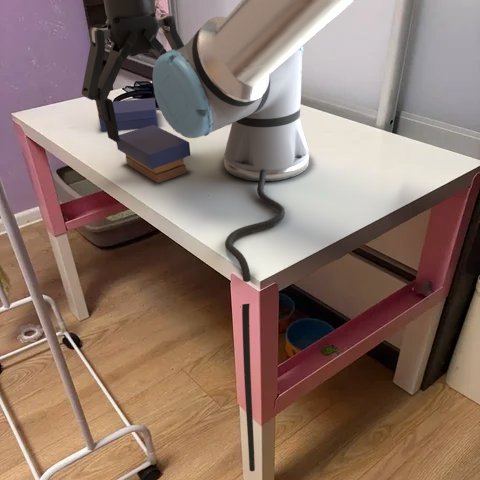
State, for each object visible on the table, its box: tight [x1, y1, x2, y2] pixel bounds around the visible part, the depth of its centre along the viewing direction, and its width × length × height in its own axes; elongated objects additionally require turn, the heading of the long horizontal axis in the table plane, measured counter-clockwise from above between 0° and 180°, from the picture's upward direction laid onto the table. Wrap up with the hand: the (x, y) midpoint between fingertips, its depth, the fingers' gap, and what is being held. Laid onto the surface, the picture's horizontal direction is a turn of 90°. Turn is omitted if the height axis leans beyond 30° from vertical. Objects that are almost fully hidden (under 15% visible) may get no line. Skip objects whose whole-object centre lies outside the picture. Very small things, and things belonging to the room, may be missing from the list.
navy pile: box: [97, 97, 159, 133], centre depth 111 cm, size 12×8×4 cm, turn 99°
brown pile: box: [125, 154, 187, 184], centre depth 92 cm, size 11×6×3 cm, turn 39°
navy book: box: [115, 125, 191, 169], centre depth 91 cm, size 12×8×2 cm, turn 39°
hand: (148, 129), depth 89 cm, fingers open, 13 cm apart
